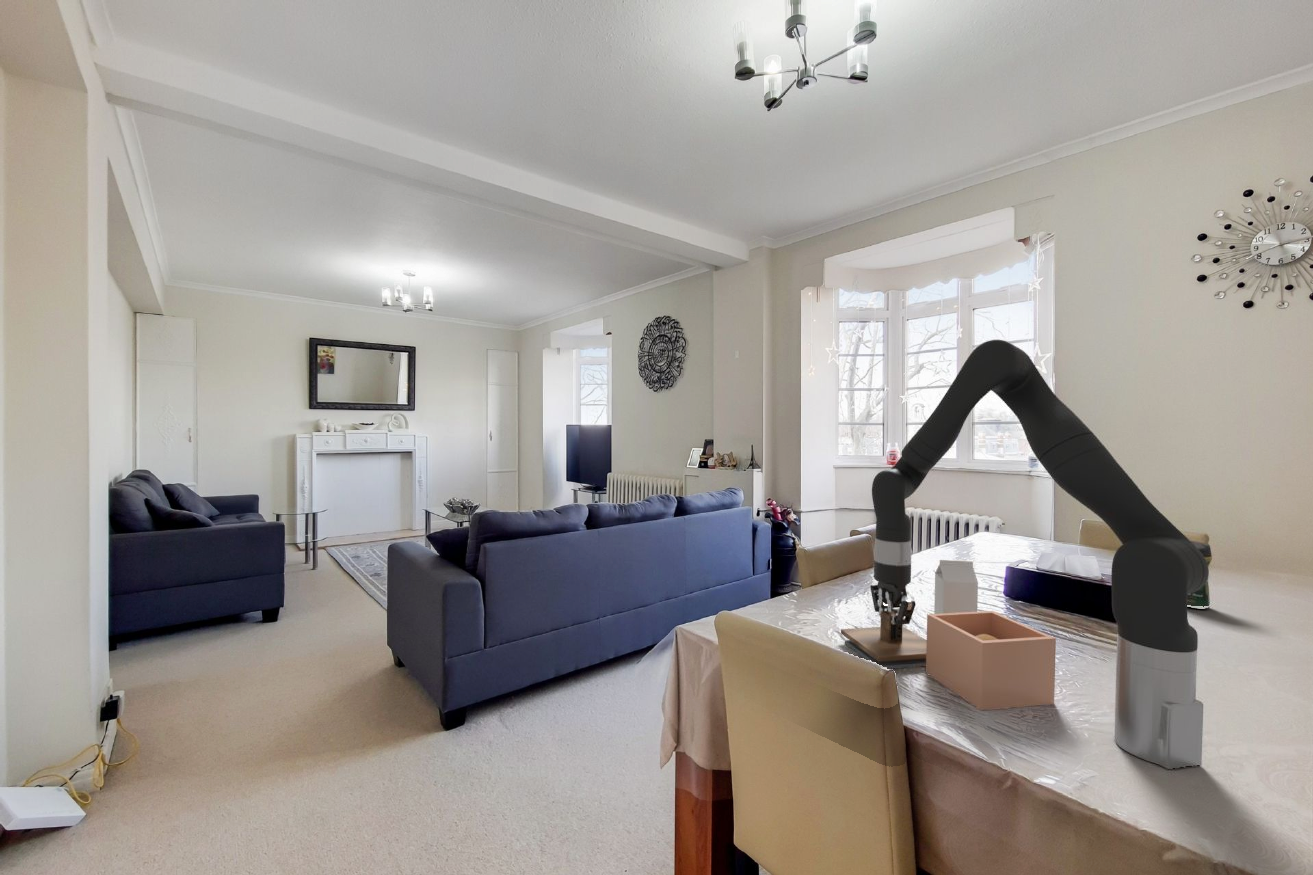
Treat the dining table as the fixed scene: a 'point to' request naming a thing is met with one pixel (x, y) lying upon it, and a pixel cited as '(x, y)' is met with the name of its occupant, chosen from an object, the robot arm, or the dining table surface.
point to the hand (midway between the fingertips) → (890, 637)
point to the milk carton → (955, 587)
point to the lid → (887, 641)
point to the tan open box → (991, 659)
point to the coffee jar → (1202, 594)
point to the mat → (888, 663)
